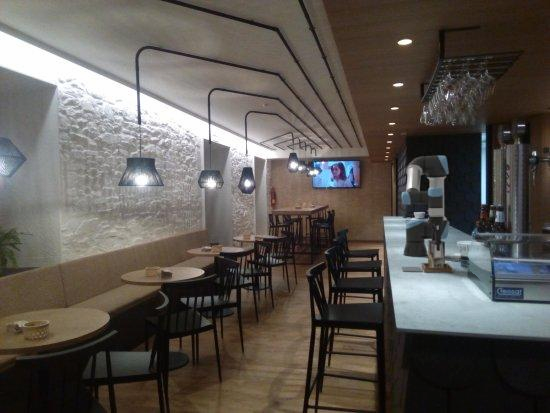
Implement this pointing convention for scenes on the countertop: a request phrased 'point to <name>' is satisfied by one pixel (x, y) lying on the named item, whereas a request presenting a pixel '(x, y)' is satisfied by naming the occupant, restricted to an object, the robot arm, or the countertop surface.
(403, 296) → the countertop surface
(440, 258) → the coffee box
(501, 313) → the countertop surface
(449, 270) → the walnut collar
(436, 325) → the countertop surface
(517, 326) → the countertop surface
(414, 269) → the slate mat
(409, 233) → the robot arm
